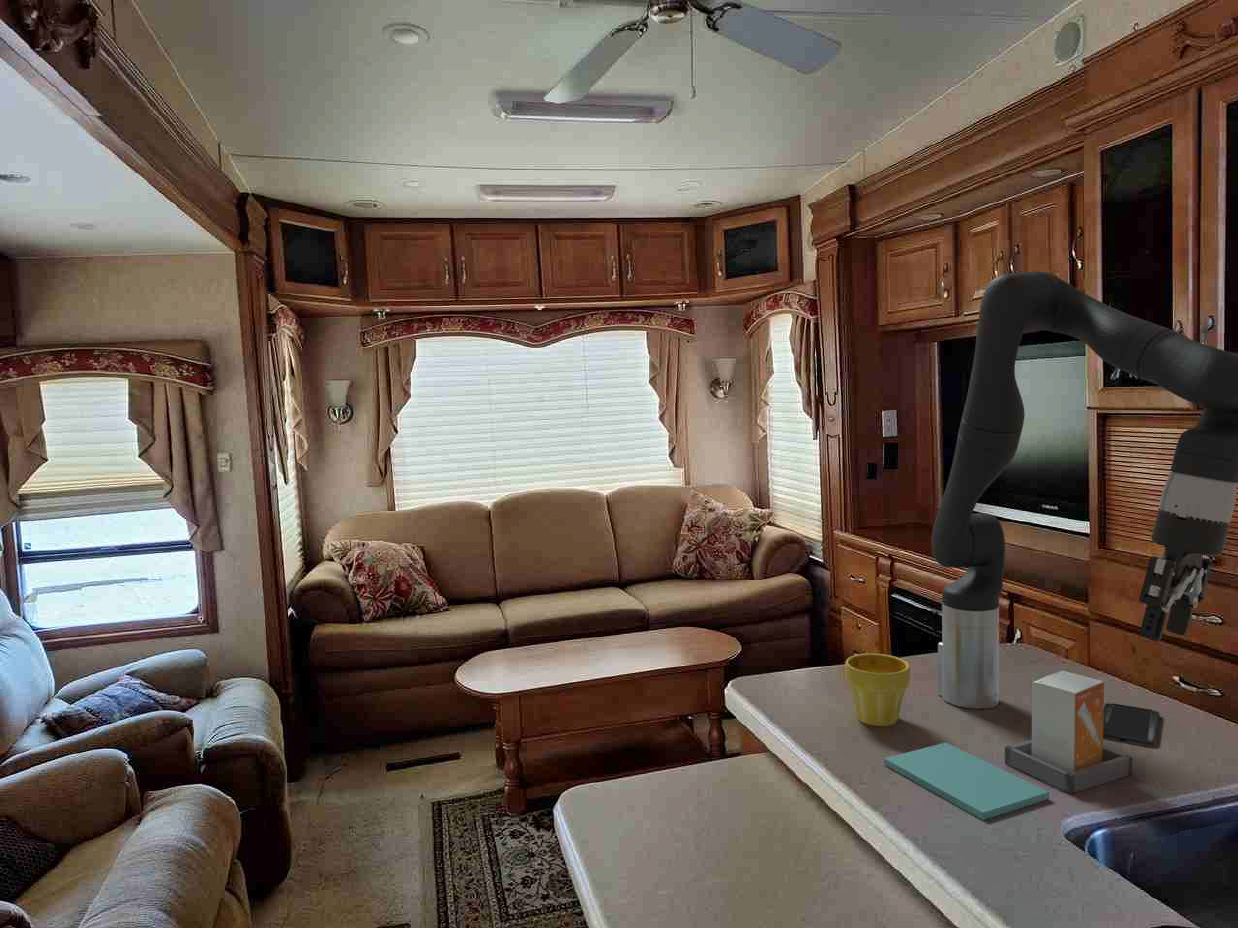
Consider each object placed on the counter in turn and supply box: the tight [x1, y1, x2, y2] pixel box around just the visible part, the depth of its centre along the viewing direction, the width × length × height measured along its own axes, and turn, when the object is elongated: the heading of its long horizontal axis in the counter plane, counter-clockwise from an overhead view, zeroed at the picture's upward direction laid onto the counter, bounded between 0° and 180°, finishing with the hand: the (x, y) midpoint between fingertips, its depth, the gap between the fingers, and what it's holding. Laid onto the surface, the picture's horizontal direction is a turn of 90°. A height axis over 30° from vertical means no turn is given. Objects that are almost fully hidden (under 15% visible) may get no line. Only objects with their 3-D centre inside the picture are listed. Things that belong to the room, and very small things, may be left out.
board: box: [883, 742, 1050, 821], centre depth 115 cm, size 18×12×1 cm, turn 24°
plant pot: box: [844, 653, 911, 727], centre depth 138 cm, size 10×10×10 cm
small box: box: [1031, 670, 1105, 772], centre depth 118 cm, size 8×6×13 cm
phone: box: [1103, 702, 1160, 748], centre depth 132 cm, size 8×1×15 cm
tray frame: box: [1004, 739, 1133, 795], centre depth 118 cm, size 11×13×2 cm
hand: (1162, 635), depth 105 cm, fingers open, 8 cm apart
